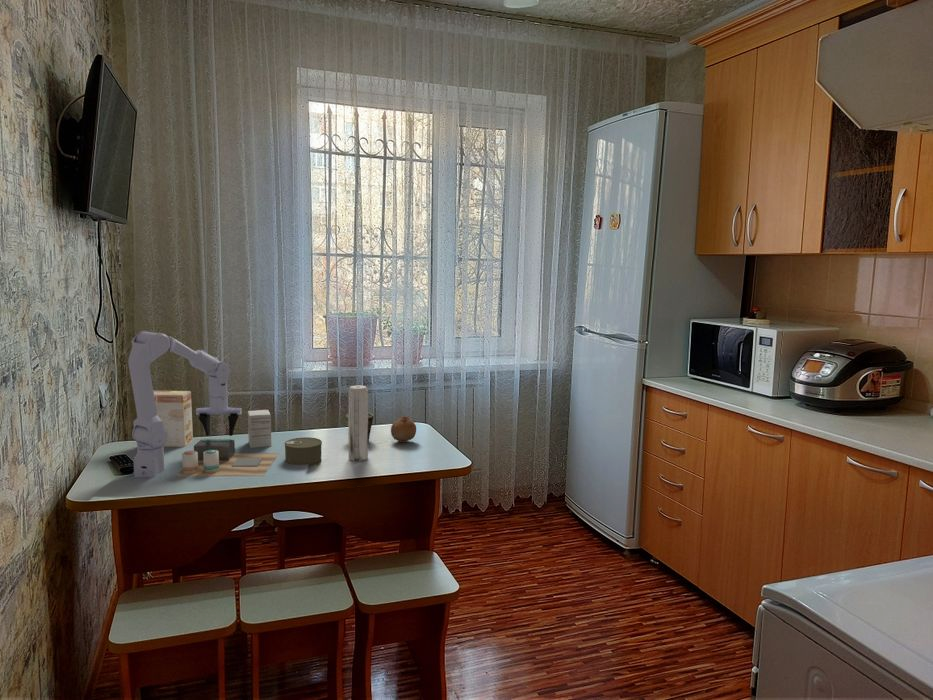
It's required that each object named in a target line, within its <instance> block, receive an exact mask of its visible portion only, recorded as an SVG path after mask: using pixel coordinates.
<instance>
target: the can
mask: <svg viewBox="0 0 933 700" xmlns="http://www.w3.org/2000/svg"><path fill="white" fill-rule="evenodd" d="M322 445H323V440H322V439H320V438H317V437H295V438H292V439H287V440H286V441H285V442H284V447H285V448H284V449H285V450H284V451H285V456H284V457H285V462H286V464H287V463H288V464H291V465H297V466H299V465H300V466H302V465H303V466H304V465H308V466H307V468H311V466H312V467H315V465H316V466H318V465H320V464H322ZM319 463H320V464H319Z"/></svg>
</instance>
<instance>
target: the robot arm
mask: <svg viewBox="0 0 933 700" xmlns="http://www.w3.org/2000/svg"><path fill="white" fill-rule="evenodd" d="M167 352H168V353H169V352H172V353H173V354H176V355H178V356H180V357H183V358H185V359H187V360H188V362H189V365H190V366H192V367H193V368H195V369H197V370H199V371H201V372H204V374H205V376H207V377H208V394H209V395H208V396H209V407H197V408H196V409H195V414H196V415H195V416H198V420H199V422H200V423H201V425H202V427H203V428H204V429H203V430H204V432H205V436H206V437H209V436H210V435H211V415H228V416H227V419H228V426H229V427H228V431H229V432H228V435H229V437H232V436H233V435H234V431H235V426H236V423H237V421H238V418H239V416H240V415H242V414H243V409H242V407H231V406H230V407H229V404H228V403H229V402H228V400H229V397H228V382H229V376H230V374H231V371H232V369H231V368H230V366H229V364H228V363H227V362H225V361H221V360H219V358H218V357H216V356H212V355H210V354H208V351H207V350H205V349H196V350H193V349H192V348H190V347H189V346H187V345H185V344H184V343H182V342H181V341H179V340H177V339H176V338H174V337H173V336H169V335H167V334H165V333H163V332H152V331H151V332H150V331H147V330H142V331H139V332H138V333H137V334H136V335H135V336H134V337H133V339H131V350H130V353H129V355H128V361H127V362H128V363H127V364H128V369H129V375H130V381H131V388H132V393H133V400H134V404H135V411H136V416H137V418H135V419H134V420H133V422H132V423H133V424H132V425H133V428H132V432H131V436H132V439H133V440H134V442H136V446H137V447H136V448H137V453H136V454H135V455H134V457H133V475H134V478H155V477H157V476H158V475H159V474H161V473H163V472H165V470H166V469H165V468H166V467H165V454H164V452H165V449H164V448H165V447H164V444H165V442H166V441H167V438H168V433H167V431H166V429H165V428H164V426H163V422H162V420H161V419H160V418H159V417H158V415H157V410H156V404H155V398H154V392H153V390H154V386H153V381H152V374H151V373H152V372H151V369H150V368H151V367H150V366H151V364H152V363H153V362H154V361H155V360H156V359H158V358H159V357H161V356H162V355H164V354H166V353H167Z"/></svg>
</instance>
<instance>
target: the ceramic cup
mask: <svg viewBox="0 0 933 700" xmlns="http://www.w3.org/2000/svg"><path fill="white" fill-rule="evenodd" d="M345 418H346V422H347V423H346V424H347V427H348V428H349V420H348V413H347V414H346V415H345ZM373 420H374V414H373V413H371V412H368V443H369V442H370V435H371V432H372V431H371V430H372V425H373Z"/></svg>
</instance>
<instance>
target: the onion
mask: <svg viewBox="0 0 933 700" xmlns="http://www.w3.org/2000/svg"><path fill="white" fill-rule="evenodd" d="M390 433H391V436H392V438H393V439H394V440H395V441H397V442H399V443H405V442H408V441H411V440H412V439H414V438H415V436H416V435H417V434H416V433H417V426H416V424H415V422H414V421H413V420H412V419H410V418H408V417H406V416H405V415H403V416H401V417H400V418H399V419H397V420H395V421H394V422H392V424H391V427H390Z"/></svg>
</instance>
